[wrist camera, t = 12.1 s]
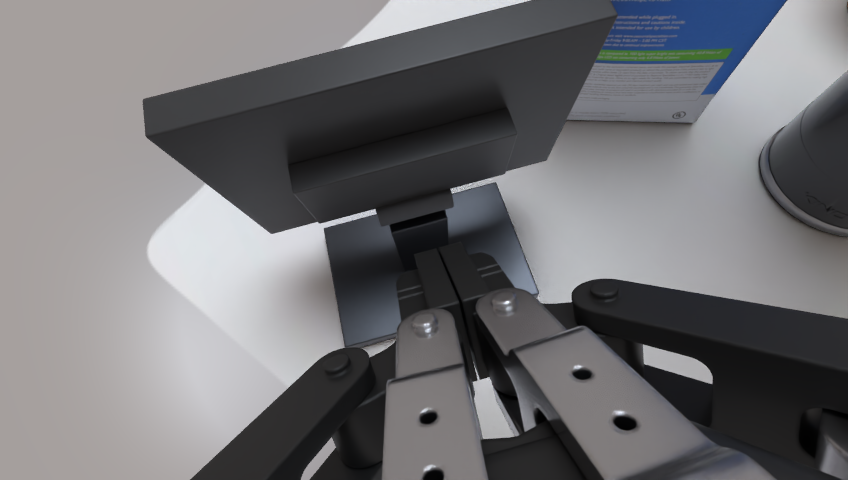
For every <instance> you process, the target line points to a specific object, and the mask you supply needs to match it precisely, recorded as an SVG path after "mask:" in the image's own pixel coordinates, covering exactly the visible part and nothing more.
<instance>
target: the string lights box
mask: <svg viewBox="0 0 848 480" xmlns="http://www.w3.org/2000/svg"><path fill="white" fill-rule="evenodd" d="M786 1H787V0H611V2H612V4H613V6H614V8H615V10H616V12H617V14H618V17H617V19H616V21H615V23H614V25H613V27H612V29H611V31H610V33H609V35H608V37H607V39H606V41H605V43H604V45H603V47H602V49H601V51H600V53H599V55H598V57H597V59H596V61H595V63H594V65H593V67H592V69H591V71H590V73H589V75H588V77H587V79H586V81H585V83H584V85H583V87H582V89H581V91H580V93H579V96H578V98H577V100H576V102H575V104H574V106H573V108H572V110H571V112H570V114H569V116H568V118H567V120H600V121H642V122H687V123H693V122H695V121H696V120H697V119H698V118H699V116H700V115H701V113H702V112H703V111H704V109H705V108H706V106H707V105H708V104H709V102H710V101H711V100H712V99H713V97H714V96H715V95H716V93H717V92H718V91H719V89H720V88H721V87H722V85H723V84H724V83H725V81H726V80H727V79H728V77H729V76H730V75H731V73H732V72H733V71H734V70H735V68H736V67H737V66H738V64H739V63H740V62H741V60H742V59H743V58H744V56H745V55H746V54H747V52H748V51H749V50H750V48H751V47H752V46H753V44H754V43H755V42H756V40H757V39H758V38H759V36H760V35H761V34H762V32H763V31H764V30H765V29H766V27H767V26H768V25H769V23H770V22H771V21H772V19H773V18H774V17H775V15H776V14H777V13H778V12H779V10H780V9H781V8H782V6H783V5H784V4H785V2H786Z"/></svg>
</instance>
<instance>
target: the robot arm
mask: <svg viewBox="0 0 848 480" xmlns="http://www.w3.org/2000/svg"><path fill="white" fill-rule="evenodd" d="M760 168H761V174H762V177H763V180H764V182H765V185H766V187H767V188H768V190H769V192H770V193H771V194H772V196H773V197H774V198H775V200H776V201H777V202H778V203H779V204H780V205H781V206H782V207H783V208H784V209H785V210H786V211H788V212H789V213H790V214H792V215H793V216H794V217H796V218H797V219H799V220H800V221H802V222H804V223H806V224H808V225H810V226H812V227H814V228H816V229H819V230H821V231H824V232H828V233H831V234H835V235H840V236H847V237H848V70H847V71H846V72H845V73H844V74H843V75H842V76H841V77H840V78H839V79H837V80H836V81H835V82H834V83H833V84H832V85H831V86H830V87H829V88H827V89H826V90H825V91H824V92H823V93H822V94H821V95H820V96H819V97H818V98H816V99H815V100H814V101H813V102H812V103H811V104H809V105H808V106H807V107H806V108H805V109H804V110H803V111H802V112H801V113H800V114H799V115H797V116H796V117H795V118H794V119H793V120H792V121H791V122H790V123H789V124H788V125H786V126H784V127H783V128H781V129H780V130H779V131H778V132H777V133H776V134H774V135H773V136H772V137H771V138H770V139H769V140H768V142H767V143H766V145H765V146H764V148H763V151H762V154H761V158H760ZM438 251H439V253H438ZM438 251H437V249H436V248H435V249H432V250H428V251H424V252H420V253H417V254H414V256H415V260H416V264H417V268H418V269H416V270H413V271H409V272H405V273H401V275H400V277H399V278H398V280H397V282H396V288H397V295H398V303H399V310H400V317H401V322H400V324H399V325H398V327H397V331H396V341H395V343H393V344H392V345H391V346H390V347H388V348H387V349H386V350H384V351H382V352H380V353H378V354H376V355H374V356H372V357H370V358H369V355H368V353H367V352H366V351H365V350H363V349H361V348H356V347H348V348H342V349H338V350H336V351H333V352H331V353H329V354H327V355H325V356H323V357H322V358H321V359H319V360H318V361H317V362H316V363H315V364H314V365H313V366H311V367H310V368H309V369H308V370H307V371H306V372H305V373H304V374H303V375H302V376H301V377H300V378H299V379H298V380H296V381H295V382H294V383H293V384H292V385H291V386H290V387H289V388H288V389H287V390H286V391H285V392H284V393H283V394H282V395H280V396H279V397H278V398H277V399H276V400H275V401H274V402H273V403H272V404H271V405H270V406H269V407H268V408H267V409H266V410H264V411H263V412H262V413H261V414H260V415H259V416H258V417H257V418H256V419H255V420H254V421H253V422H251V423H250V424H249V425H248V426H247V427H246V428H245V429H244V430H243V431H242V432H241V433H240V434H239V435H238V436H237V437H235V438H234V439H233V440H232V441H231V442H230V443H229V444H228V445H227V446H226V447H225V448H224V449H223V450H222V451H220V452H219V453H218V454H217V455H216V456H215V457H214V458H213V459H212V460H211V461H210V462H209V463H208V464H207V465H205V466H204V467H203V468H202V469H201V470H200V471H199V472H198V473H197V474H196V475H195V476H194V477H193V478H192V479H190V480H301V477H302V474H303V471H304V470H305V468H306V467H307V465H308V464H309V463H310V462H311V461H312V459H313V458H314V457H315V456H316V455H317V453H318V452H319V451H320V450H321V449H322V447H323V446H324V445H325V444H326V443H327V442H328V441H329V439H330V438H331V437H332V438H333V441H334V443H335V446H336V448H335V450H334V451H333V452H332V453H331V454H330V456H329V457H328V458H327V459H326V460H325V462H324V463H323V464H322V465H321V467H320V468H319V469H318V470H317V471H316V473H315V474H314V475H313V476H312V477H311V479H310V480H848V319H845V318H839V317H834V316H828V315H822V314H816V313H810V312H804V311H798V310H792V309H787V308H781V307H775V306H769V305H763V304H757V303H751V302H746V301H740V300H734V299H728V298H722V297H716V296H710V295H705V294H699V293H693V292H687V291H681V290H675V289H669V288H664V287H658V286H652V285H646V284H640V283H634V282H628V281H623V280H616V279H596V280H591V281H588V282H585V283H582V284H580V285H579V286H577V287H576V288H575V289H574V290H573V292H572V302H571V303H558V304H542V303H540V302H539V301H538V300H537V299H536V298H535V297H534V296H533V295H532V294H531V293H530V292H528V291H526V290H523V289H519V288H515V286H514V285H513V284H512V282H511V281H510V279H509V278H508V277H507V275H506V274H505V273H504V271H503V270H502V269H501V267H500V266H499V265H498V263H497V262H496V260H495V259H494V258H493V256H490V255H488V254H486V253H483V252H479V253H475V254H471V255H469V254H468V253H467V251H466V249H465V248H464V246H463V244H462V243H461V242H457V243H454V244H450V245H446V246H442V247H439V248H438ZM643 344H644V345H648V346H651V347H655V348H659V349H663V350H666V351H670V352H674V353H678V354H681V355H685V356H689V357H692V358H695V359H697V360H699V361H700V362H702V363H703V364H705V365H706V366H707V367H708V369H709V370H710V371H711V373H712V376H713V384H709V383H705V382H702V381H699V380H695V379H692V378H688V377H685V376H682V375H678V374H675V373H672V372H668V371H665V370H662V369H658V368H655V367H652V366H648V365H645V364H644V361H643ZM473 362H474V363H473ZM474 365H475V367H474ZM475 368H476V370H477V373H478V375H479V378H480V379H484V378H487V377H490V379H491V381H492V385H493V389H494V394H495V398H496V401H497V403H498V405H499V407H500V409H501V411H502V413H503V415H504V417H505V419H506V421H507V422H508V424H509V426H510V428H511V430H512V432H513V434H514V436H515V437H511V438H497V439H483V437H482V433H481V428H480V424H479V419H478V415H477V411H476V406H475V402H474V396H475V391H474V387H473V383H472V382H473V381H477V376H476V372H475Z"/></svg>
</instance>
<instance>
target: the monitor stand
mask: <svg viewBox="0 0 848 480" xmlns="http://www.w3.org/2000/svg"><path fill="white" fill-rule="evenodd" d="M452 197H453V202H454V207H453V208H449V209H446V210H442V211H438V212H434V213H431V214H427V215H423V216H420V217H416V218H412V219H409V220H405V221H401V222H397V223H394V224H390V225H386V226H381V225H380V223H379V220H378V216H377V214H376V215H372V216H368V217H364V218H361V219H357V220H353V221H350V222H346V223H342V224H338V225H335V226H331V227H327V228H324V233H325V239H326V244H327V250H328V255H329V261H330V266H331V272H332V277H333V283H334V288H335V294H336V300H337V305H338V311H339V316H340V322H341V327H342V333H343V338H344V344H345V347H346V348H348V347H356V348H360V347H364V346H367V345H371V344H374V343H378V342H382V341H385V340H389V339H392V338H396V331H397V327H398V325H399V324H400V322H401V317H400V310H399V303H398V295H397V288H396V282H397V280H398V278H399V277H400V275H401V273H405V272H409V271H413V270H416V269H418V268H417V264H416V260H415V256H414V254H417V253H420V252H424V251H428V250H432V249H435V248H436V249H437V251H438V248H439V247H442V246H446V245H450V244H454V243H457V242H461V243H462V244H463V246H464V248H465V249H466V251H467V253H468V254H469V255H471V254H475V253H479V252H483V253H486V254H488V255H490V256H493V258H494V259H495V260H496V262H497V263H498V265H499V266H500V267H501V269H502V270H503V271H504V273H505V274H506V275H507V277H508V278H509V279H510V281H511V282H512V284H513V285H514V286H515V288H519V289H523V290H526V291H528V292H530V293H531V294H532V295H533V296H534V297H535V298H537V296H538V294H539V291H538V289H537V286H536V283H535V281H534V278H533V276H532V273H531V271H530V268H529V266H528V263H527V260H526V258H525V255H524V253H523V250H522V248H521V245H520V243H519V240H518V238H517V235H516V232H515V230H514V227H513V225H512V222H511V220H510V217H509V215H508V212H507V209H506V207H505V204H504V202H503V199H502V197H501V194H500V192H499V189H498V186H497V184H496V182H495V183H491V184H487V185H484V186H480V187H476V188H472V189H469V190H465V191H461V192H457V193H454V194H452ZM438 253H439V251H438Z"/></svg>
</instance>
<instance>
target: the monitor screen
mask: <svg viewBox="0 0 848 480" xmlns="http://www.w3.org/2000/svg"><path fill="white" fill-rule="evenodd" d="M617 17H618V14H617V12H616V10H615V8H614V6H613V4H612V2H611V0H531V1H527V2H523V3H519V4H515V5H511V6H507V7H503V8H500V9H496V10H492V11H488V12H484V13H480V14H476V15H472V16H468V17H464V18H460V19H456V20H452V21H448V22H444V23H441V24H437V25H433V26H429V27H425V28H421V29H417V30H413V31H409V32H405V33H401V34H397V35H393V36H389V37H385V38H382V39H378V40H374V41H370V42H366V43H362V44H358V45H354V46H350V47H346V48H342V49H338V50H334V51H331V52H327V53H323V54H319V55H315V56H311V57H307V58H303V59H299V60H295V61H291V62H287V63H283V64H279V65H276V66H272V67H268V68H264V69H260V70H256V71H252V72H248V73H244V74H240V75H236V76H232V77H229V78H224V79H220V80H217V81H212V82H208V83H205V84H201V85H197V86H193V87H189V88H185V89H181V90H177V91H173V92H169V93H165V94H161V95H158V96H153V97H150V98H146V99H143V110H144V123H145V135H146V137H147V138H148V139H149V140H150V141H152V142H153V143H155V144H156V145H157V146H158V147H159V148H161V149H162V150H163V151H165V152H166V153H167V154H169V155H170V156H171V157H172V158H174V159H175V160H176V161H178V162H179V163H180V164H182V165H183V166H184V167H186V168H187V169H188V170H190V171H191V172H192V173H193V174H194V175H196V176H197V177H198V178H200V179H201V180H202V181H203V182H205V183H206V184H207V185H209V186H210V187H211V188H213V189H214V190H215V191H216V192H218V193H219V194H220V195H222V196H223V197H224V198H225V199H227V200H228V201H229V202H231V203H232V204H233V205H235V206H236V207H237V208H238V209H240V210H241V211H242V212H244V213H245V214H246V215H247V216H249V217H250V218H251V219H253V220H254V221H255V222H257V223H258V224H259V225H260V226H262V227H263V228H264V229H266V230H267V231H268V232H269V233H271V234H274V233H277V232H281V231H285V230H288V229H292V228H296V227H300V226H303V225H307V224H311V223H315V222H318V223H324V222H327V221H331V220H335V219H339V218H342V217H346V216H350V215H353V214H357V213H361V212H365V211H368V210H372V209H376V212H377V216H378V220H379V223H380V225H381V226H386V225H390V224H394V223H397V222H401V221H405V220H409V219H412V218H416V217H420V216H423V215H427V214H431V213H434V212H438V211H442V210H446V209H449V208H453V207H454V202H453V197H452V193H451V190H450V188H454V187H458V186H462V185H465V184H469V183H473V182H477V181H480V180H484V179H488V178H491V177H495V176H499V175H503V174H505V172H506V171H509V170H512V169H516V168H520V167H524V166H527V165H531V164H535V163H538V162H542V161H546V160H547V158H548V156H549V154H550V152H551V150H552V148H553V146H554V144H555V142H556V140H557V138H558V136H559V134H560V132H561V130H562V128H563V126H564V124H565V122H566V120H567V118H568V116H569V114H570V112H571V110H572V108H573V106H574V104H575V102H576V100H577V98H578V96H579V93H580V91H581V89H582V87H583V85H584V83H585V81H586V79H587V77H588V75H589V73H590V71H591V69H592V67H593V65H594V63H595V61H596V59H597V57H598V55H599V53H600V51H601V49H602V47H603V45H604V43H605V41H606V39H607V37H608V35H609V33H610V31H611V29H612V27H613V25H614V23H615V21H616V19H617Z"/></svg>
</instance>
